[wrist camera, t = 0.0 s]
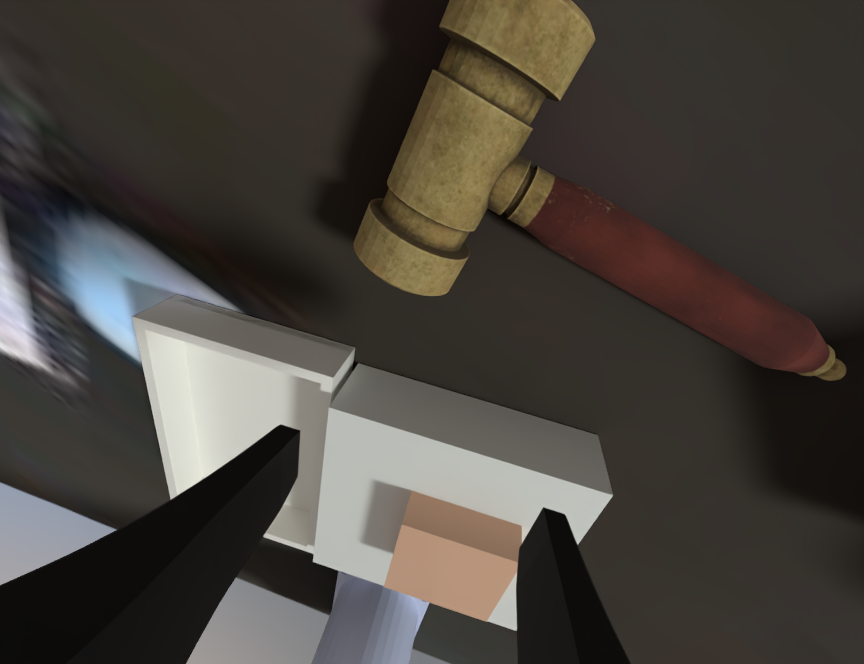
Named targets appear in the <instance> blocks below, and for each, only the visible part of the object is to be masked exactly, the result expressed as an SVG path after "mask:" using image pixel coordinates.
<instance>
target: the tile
mask: <svg viewBox="0 0 864 664" xmlns="http://www.w3.org/2000/svg"><path fill="white" fill-rule="evenodd" d="M521 544H522V526H521V525H518V524H515V523H511V522H508V521H505V520H502V519H499V518H496V517H493V516H490V515H486V514H483V513H480V512H477V511H474V510H471V509H468V508H465V507H461V506H458V505H455V504H452V503H449V502H446V501H443V500H440V499H436V498H433V497H430V496H427V495H424V494H421V493H418V492H415V491H411V495H410V498H409V502H408V505H407V508H406V512H405V515H404V519H403V522H402V526H401V529H400V532H399V536H398V539H397V543H396V546H395V550H394V553H393V556H392V560H391V563H390V567H389V570H388V574H387V577H386V580H385V584H384V587H386V588H388V589H391V590H394V591H397V592H400V593H403V594H406V595H409V596H412V597H415V598H418V599H421V600H424V601H427V602H430V603H433V604H436V605H439V606H442V607H445V608H447V609H450V610H453V611H456V612H459V613H462V614H465V615H468V616H471V617H474V618H477V619H480V620H483V621H486V622H487V620H488V618H489V617H490V615H491V613H492V612H493V610H494V609H495V607H496V605H497V604H498V602H499V600H500V599H501V597H502V596H503V594H504V592H505V591H506V589H507V587H508V586H509V584H510V583H511V581H512V579H513V578H514V576H515V574H516V573H517V567H518V556H519V548H520V546H521Z"/></svg>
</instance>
